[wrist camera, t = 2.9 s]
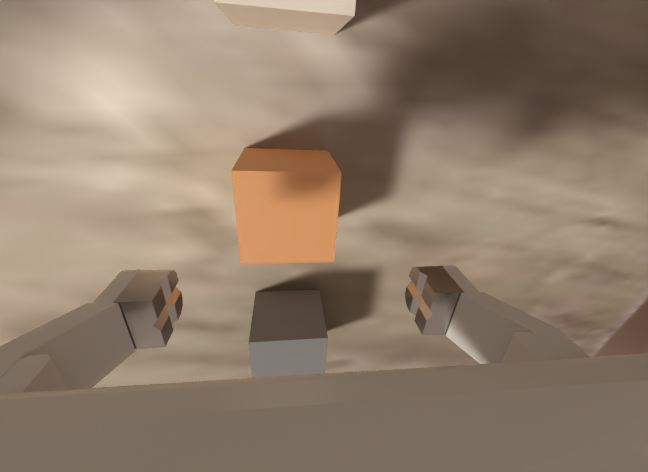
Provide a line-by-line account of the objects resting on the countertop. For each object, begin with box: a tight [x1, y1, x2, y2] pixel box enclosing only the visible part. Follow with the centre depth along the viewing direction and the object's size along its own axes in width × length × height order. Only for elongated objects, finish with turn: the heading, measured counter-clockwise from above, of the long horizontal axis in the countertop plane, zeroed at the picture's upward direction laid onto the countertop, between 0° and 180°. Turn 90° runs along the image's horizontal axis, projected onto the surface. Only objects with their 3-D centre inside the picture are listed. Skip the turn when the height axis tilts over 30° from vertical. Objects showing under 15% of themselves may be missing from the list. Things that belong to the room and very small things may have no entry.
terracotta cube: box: [232, 148, 342, 264], centre depth 16 cm, size 5×5×5 cm
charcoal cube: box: [249, 289, 328, 378], centre depth 22 cm, size 5×5×5 cm
